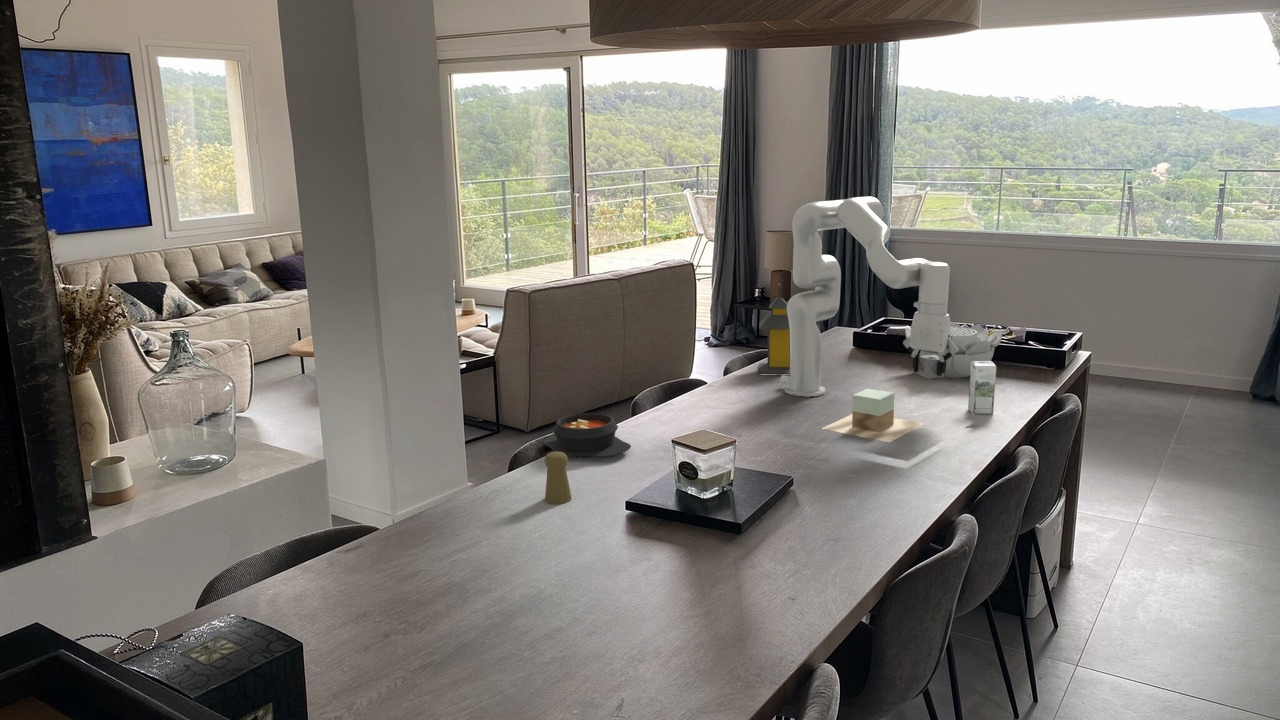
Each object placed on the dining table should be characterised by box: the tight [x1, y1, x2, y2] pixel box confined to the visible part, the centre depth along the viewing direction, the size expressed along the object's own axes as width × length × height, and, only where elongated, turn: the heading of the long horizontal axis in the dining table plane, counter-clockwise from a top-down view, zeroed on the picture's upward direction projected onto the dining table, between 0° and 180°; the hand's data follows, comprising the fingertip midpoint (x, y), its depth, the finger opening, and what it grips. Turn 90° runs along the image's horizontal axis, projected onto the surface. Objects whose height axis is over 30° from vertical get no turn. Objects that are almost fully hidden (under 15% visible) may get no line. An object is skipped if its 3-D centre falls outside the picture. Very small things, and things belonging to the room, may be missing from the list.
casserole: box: [541, 412, 632, 458], centre depth 245 cm, size 25×19×8 cm
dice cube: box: [916, 355, 944, 379], centre depth 256 cm, size 5×5×5 cm
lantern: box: [758, 283, 790, 375], centre depth 321 cm, size 14×14×30 cm
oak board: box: [821, 413, 925, 443], centre depth 254 cm, size 20×20×2 cm
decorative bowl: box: [904, 321, 1003, 379], centre depth 309 cm, size 30×30×15 cm
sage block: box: [852, 388, 895, 416], centre depth 253 cm, size 8×8×4 cm
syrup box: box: [967, 360, 997, 415], centre depth 267 cm, size 6×6×14 cm
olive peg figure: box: [544, 451, 572, 505], centre depth 212 cm, size 6×6×11 cm
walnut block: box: [851, 408, 895, 432], centre depth 254 cm, size 8×8×4 cm
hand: (928, 372), depth 257 cm, fingers closed on dice cube, 6 cm apart
